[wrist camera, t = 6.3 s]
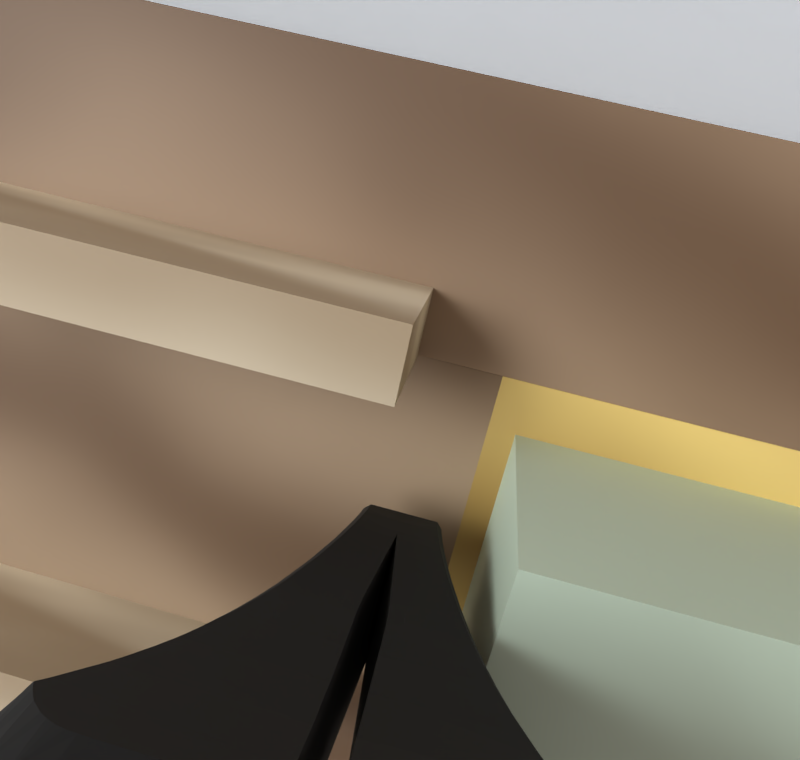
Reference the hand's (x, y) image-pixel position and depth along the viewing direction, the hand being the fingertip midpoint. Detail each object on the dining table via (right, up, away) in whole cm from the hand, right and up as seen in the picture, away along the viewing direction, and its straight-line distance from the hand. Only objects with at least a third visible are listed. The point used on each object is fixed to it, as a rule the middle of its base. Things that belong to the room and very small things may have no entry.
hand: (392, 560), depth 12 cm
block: (+4, -1, +1) cm, 4 cm away
